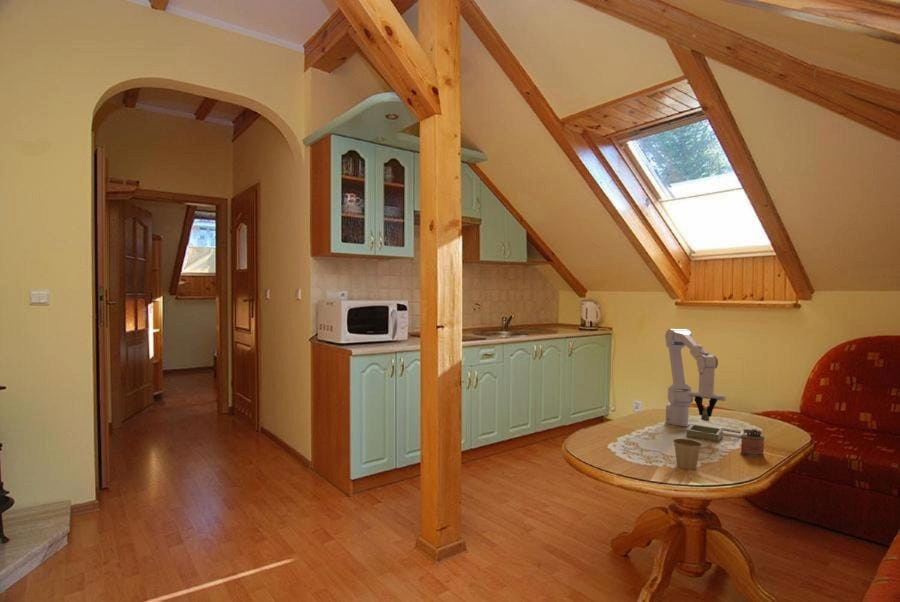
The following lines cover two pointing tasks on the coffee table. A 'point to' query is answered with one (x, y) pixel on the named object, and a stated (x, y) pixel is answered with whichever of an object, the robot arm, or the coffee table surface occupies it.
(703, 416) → the cylinder
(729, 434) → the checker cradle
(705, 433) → the bin
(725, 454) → the coffee table surface
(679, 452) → the flower pot
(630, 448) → the coffee table surface
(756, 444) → the lighter
